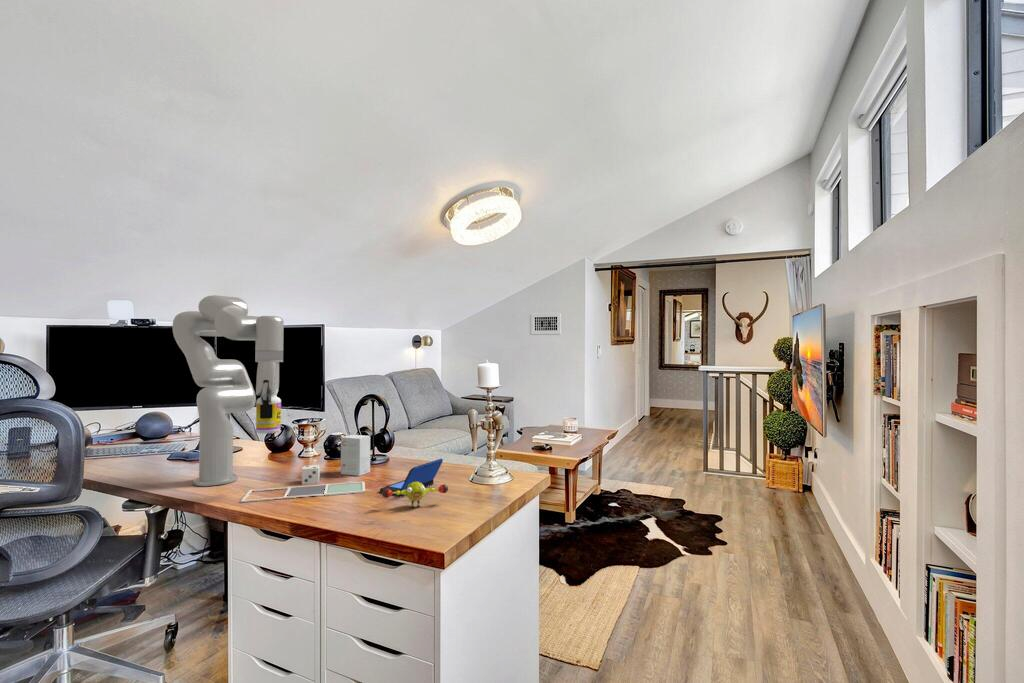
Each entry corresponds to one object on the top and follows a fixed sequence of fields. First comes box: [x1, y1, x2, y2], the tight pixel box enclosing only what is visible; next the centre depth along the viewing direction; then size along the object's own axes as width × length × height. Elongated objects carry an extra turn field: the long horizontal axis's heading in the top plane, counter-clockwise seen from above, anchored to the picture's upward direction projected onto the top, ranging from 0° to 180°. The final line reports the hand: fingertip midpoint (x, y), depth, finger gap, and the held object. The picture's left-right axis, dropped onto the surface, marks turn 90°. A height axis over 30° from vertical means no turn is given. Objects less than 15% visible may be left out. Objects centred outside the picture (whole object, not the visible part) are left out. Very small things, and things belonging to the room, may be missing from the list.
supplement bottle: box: [255, 389, 282, 435], centre depth 147 cm, size 7×7×13 cm
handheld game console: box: [379, 458, 444, 497], centre depth 152 cm, size 16×13×9 cm
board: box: [240, 481, 366, 503], centre depth 149 cm, size 12×34×1 cm, turn 107°
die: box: [301, 464, 321, 485], centre depth 161 cm, size 5×5×5 cm
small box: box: [340, 434, 371, 477], centre depth 173 cm, size 8×6×13 cm
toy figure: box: [381, 482, 449, 508], centre depth 135 cm, size 18×6×7 cm, turn 106°
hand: (268, 416), depth 146 cm, fingers closed on supplement bottle, 6 cm apart
